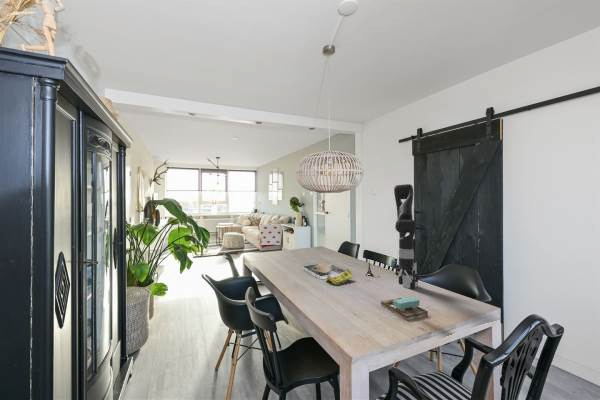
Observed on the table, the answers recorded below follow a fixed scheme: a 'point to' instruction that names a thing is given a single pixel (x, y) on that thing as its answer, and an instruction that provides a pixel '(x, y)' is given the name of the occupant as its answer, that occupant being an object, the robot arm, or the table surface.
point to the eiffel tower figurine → (370, 271)
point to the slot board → (408, 312)
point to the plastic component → (340, 277)
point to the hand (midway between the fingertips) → (406, 286)
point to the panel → (406, 303)
